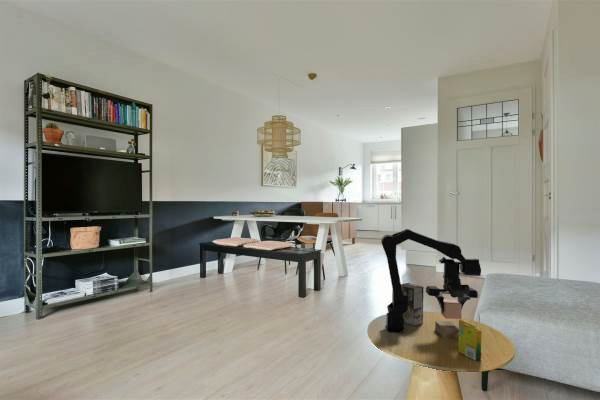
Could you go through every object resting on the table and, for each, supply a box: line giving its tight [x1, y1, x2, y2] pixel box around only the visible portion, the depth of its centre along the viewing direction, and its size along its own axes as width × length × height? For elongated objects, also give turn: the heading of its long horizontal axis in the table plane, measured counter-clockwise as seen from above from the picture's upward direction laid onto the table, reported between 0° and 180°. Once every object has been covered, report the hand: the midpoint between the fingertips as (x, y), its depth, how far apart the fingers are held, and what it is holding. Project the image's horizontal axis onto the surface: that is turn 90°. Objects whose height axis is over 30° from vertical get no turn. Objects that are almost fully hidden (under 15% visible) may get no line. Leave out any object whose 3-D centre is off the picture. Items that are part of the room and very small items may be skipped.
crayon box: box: [458, 319, 482, 361], centre depth 119 cm, size 7×3×12 cm, turn 21°
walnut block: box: [434, 320, 459, 340], centre depth 138 cm, size 9×9×4 cm
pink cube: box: [440, 298, 463, 320], centre depth 138 cm, size 6×6×6 cm
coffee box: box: [401, 282, 424, 326], centre depth 152 cm, size 9×6×16 cm
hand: (450, 312), depth 138 cm, fingers closed on pink cube, 6 cm apart
